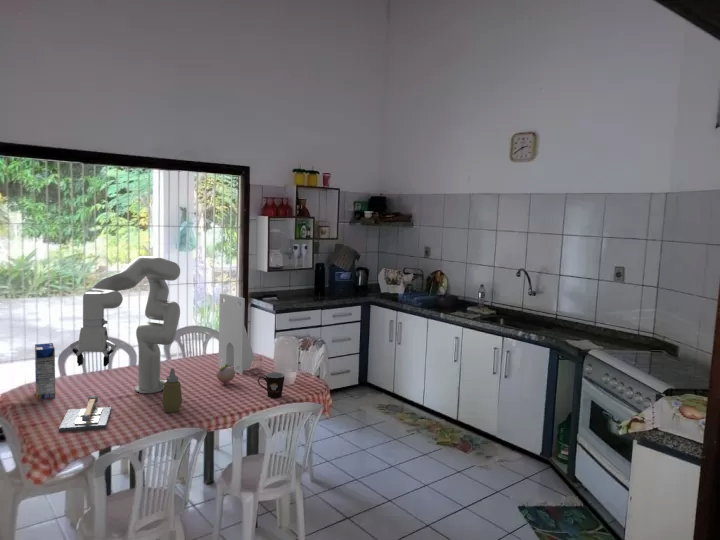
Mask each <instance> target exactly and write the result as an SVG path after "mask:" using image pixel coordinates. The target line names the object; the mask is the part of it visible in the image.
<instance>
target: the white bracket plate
mask: <svg viewBox="0 0 720 540" xmlns="http://www.w3.org/2000/svg"><path fill="white" fill-rule="evenodd" d="M245 301H246V299H245V298H244V297H242V296H241V297H240V296H236V295H231V294H226V293H222V292H220V293H219V309H218V310H219V315H218V317H219V319H218V321H219V323H218V360H217V361H218V365H217V366H221V367H223V366H225V364H226V365H230V366H234V367H233V369H234V371H235V372H238V373H241V374H242V373H243V374H244V371H243V370H245V369H249V368H250V367H251V363H252V361H254V360H255V361H256V358H255V356H254V351H253V349H252V346H251V343H250V339H249V335H248V333H247V329H246V325H245V306H246V305H245V303H246V302H245Z"/></svg>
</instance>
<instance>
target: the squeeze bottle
mask: <svg viewBox="0 0 720 540" xmlns="http://www.w3.org/2000/svg"><path fill="white" fill-rule="evenodd" d="M166 380H167V382H165V383H164V385H163V386H164V389H163V390H162V391H163V392H162V400H161V403H162V407H163V410H164V412H166V413H177V412H179V411H180V408H181V406H182V403H183V397H182V386H181V382H180V381H179V376H178V375H176V372H175V368H170V371H169V374H168V376H166Z"/></svg>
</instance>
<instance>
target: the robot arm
mask: <svg viewBox="0 0 720 540" xmlns="http://www.w3.org/2000/svg"><path fill="white" fill-rule="evenodd" d="M180 275H181V268H180V266H179V264H178V263H177V262H174V261H172V260H169V259H166V258H163V257H161V256H160V257H159V256H149V255H148V256H147V255H141V256H138V257H136V258H135V259H133V260H132V261H131V262H130V263H129V264H128V265H126V266H125V268H124V269H122V270H121V271H120V272H117V273H115V274H112V275H110V276H107V277H105V278H102V279H99V280H98V282H96V283H95V284H93V286H92V287H90V289H89V290H88V291H86V292H84V293H83V295H82V325H81V327H80V331H79V336H78V340H77V341H75V342H72V343H71V344H70V345H69V347H70V349H71V351H72V352H73V353H74V354H75V356H76V363H77V366H78V367H80V366H82V365H84V354H83V353H84V352H85V353H87V352H89V353H102V354H103V365H102V366H103V367H107V366H108V365H109V363H110V356H111V354H113V353H114V352H115V349H116V348H117V344H115V343H113V342H112V341H110V340H109V339H108V338H109V337H108V329H107V326H106V325H108V320H105V310H107V309H111V310H112V309H116V308H119V307H120V305H122V303H123V302H124V301H123V300H124V298H123V294H122V293H120V292H121V291H126V290H130V289H133V288H135V287H136V286H138V284H139V283H141V281H142V280H143V279H144V278H145V277H146V279H147V282H148V284H149V293H148V297H147V301H146V305H145V310H144V315H145V317H146V318H147V319H149V320H153V321H160V322H151V321H150V322H149V321H145V322H142V323H140V324H139V325H138V326H137V328H136V331H135V336H136V341H137V348H138V349H137V350H138V385H136V386H134V391H135V392H136V393H138V392H139V394H154V393H158V392H162V391H163V390H164V383H165V382H167V379H166V380H163V379H162V377H161V348H160V346H161V345H162V346H168V345H171V344H172V343H173V342H174V340H175V338H176V333H177V330H178V326H179V320H180V316H181V308H180V305H179V303H178V302H176V301H174V300H169V299H168V297H169V294H170V290H169V289H170V288H169V286H168V283H167V282H166V281H171V282H172V281H176V280H177V279H178V278H179V277H180ZM161 321H162V322H163V323H161ZM159 345H160V346H159ZM76 346H78V348H77V347H76ZM109 347H110V349H109ZM108 349H109V350H108Z"/></svg>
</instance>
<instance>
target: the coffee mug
mask: <svg viewBox="0 0 720 540" xmlns="http://www.w3.org/2000/svg"><path fill="white" fill-rule="evenodd" d="M285 375H286V374H285V373H282V372H277V371H276V372H275V371H273V372H268V373H266V374H265V377H264V376H261V377H258V378H257V383H258V385H259V386H260V387H262V388H263V389H264V390H266V391H267V392H266V393H267V397H268V398H269V397H271V398H270V399H280V398H282V394H283V388H284V381H285ZM260 379H263V380H264V381H265V382H266V387H265V386H263V385H262V384H261V383H260ZM279 397H280V398H279Z"/></svg>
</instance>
